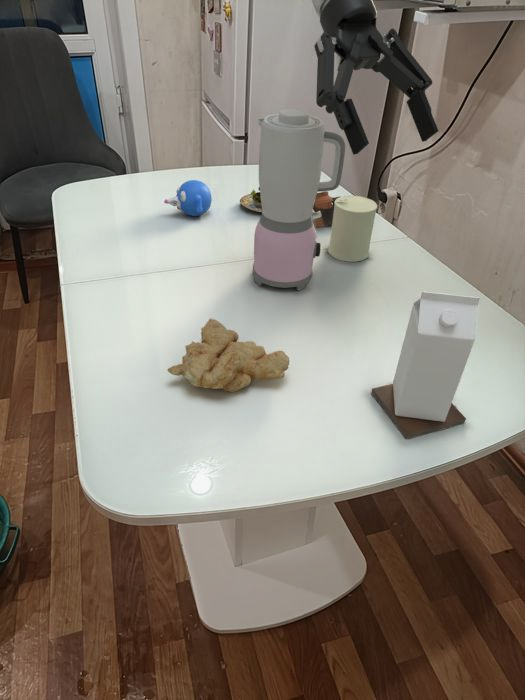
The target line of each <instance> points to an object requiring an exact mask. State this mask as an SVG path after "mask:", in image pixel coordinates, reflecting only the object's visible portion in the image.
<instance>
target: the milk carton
mask: <svg viewBox="0 0 525 700" xmlns="http://www.w3.org/2000/svg"><path fill="white" fill-rule="evenodd" d="M480 299H481V298H480V297H479V296H472V295H463V294H462V295H461V294H452V293H444V292H435V291H434V292H433V291H424V290H422V292H421V296H420V298H419V299H417V300H416V301H415V302H413V303H412V307H411V311H410V315H409V319H408V322H407V327H406V331H405V334H404V338H403V342H402V346H401V350H400V353H399V357H398V361H397V364H396V368H395V372H394V376H393V380H392V384H393V393H394V407H395V415H397V416H404V417H411V418H419V419H426V420H434V421H442V422H444V421H445V420H446V417H447V414H448V411H449V409H450V406H451V403H452V404H453V401H454V398H455V395H456V392H457V390H458V387H459V384H460V382H461V379H462V377H463V374H464V371H465V368H466V365H467V363H468V359H469V357H470V355H471V352H472V350H473V346H474V344H475V340H476V337H477V336H476V335H477V320H478V319H477V318H478V305H479V302H480Z"/></svg>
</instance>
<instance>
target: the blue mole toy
mask: <svg viewBox="0 0 525 700" xmlns="http://www.w3.org/2000/svg"><path fill="white" fill-rule="evenodd" d="M212 199H213V198H212V192H211V190H210V188H209V186H208V185H207V184H206V183H204V182H203V181H201V180H196V179H191V180H187V181H185V182H183V183H182V184H180V186H179V187H178V188H177V189H176V195H175V196H174V197H173V196H172V197H170V198H168V199H164V201H163V203H164V204H169V205H170V206H173V207H176V208H177V210H179V211H181V212H183V213H184V214H186V215H188V216H192V217H198V216H199V217H200V216H202V215H204V214H206V213H207V212H208V211H209V210H210V208H211V205H212Z"/></svg>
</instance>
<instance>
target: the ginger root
mask: <svg viewBox="0 0 525 700" xmlns="http://www.w3.org/2000/svg"><path fill="white" fill-rule="evenodd" d="M200 331H201V332H200V335H201V338H200V339H201V340H200V341H201V342H199V341H198V342H195V341H193V340H192V341H191V342H190V343H189V344H187V345H185V355H183V356H182V357H181V363H179V364H176V365H175V364H174V365H172V366H171V367H168V368H167V372H168V373H169V374H171V375H173V376H176V377H177V376H178V377H179V376H182V377H184V378H185V379H186V380H188V382H189V383H190V385H191V386H193V387H195V388H204V389H212V390H215V389H221V390H224V391H226V392H229V393H232V392H237V391H239V390H240V389H243V388H245V387H247V386H249V385H250V384H251V382H252V380H255V381H262V380H263V381H265V380H277V379H284V378H285V372H286V371H287V370H288V369H289V368H290V367H289V366H290V357H289V356H288V355H287V354H286V352H285V351H284V350H275V351H274V352H269V353H267V352H266V350H265V347H264V346H262V345H257V344H256V342H255V341H253V340H247V341H238V340H239V333H238V332H236V331H235V330H234V329H227V328H226V327H225V325H224V324H223V323H221V322H220V321H218V320H216V319H214V318H209V319H208V321H207V322H206V323H205V324H204V326H203V327H201V330H200Z"/></svg>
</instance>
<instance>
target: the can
mask: <svg viewBox="0 0 525 700" xmlns="http://www.w3.org/2000/svg"><path fill="white" fill-rule="evenodd" d="M338 197H339V198H337V199H336V200H335V202H334V214H333V222H332V225H331V232H330V237H329V238H330V239H329V243H328V244H329V245H328V248H327V251H328V254H329V255H330V256H331V257H332V258H334V259H335V260H338V261H343V262H348V263H355V262H356V263H357V262H361V261H364V260H366V259H367V258H368V257H369V255H370V245H371V239H372V234H373V230H374V224H375V217H376V214H377V210H378V204H377V202H375V200H373V199H370V198H368V197H365V196H361V195H343V196H338Z"/></svg>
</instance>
